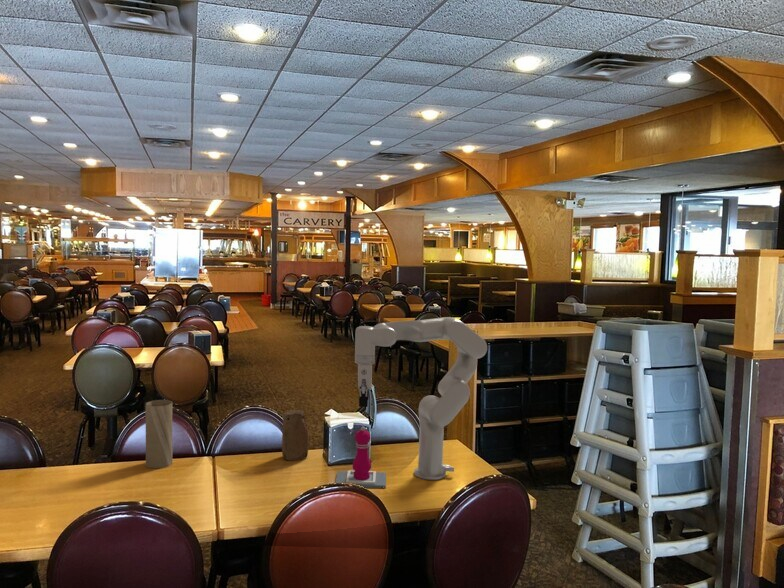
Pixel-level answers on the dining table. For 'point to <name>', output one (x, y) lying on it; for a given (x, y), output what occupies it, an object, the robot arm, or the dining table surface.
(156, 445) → the tube
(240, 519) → the dining table surface
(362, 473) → the pepper mill
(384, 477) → the grey panel
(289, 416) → the block
